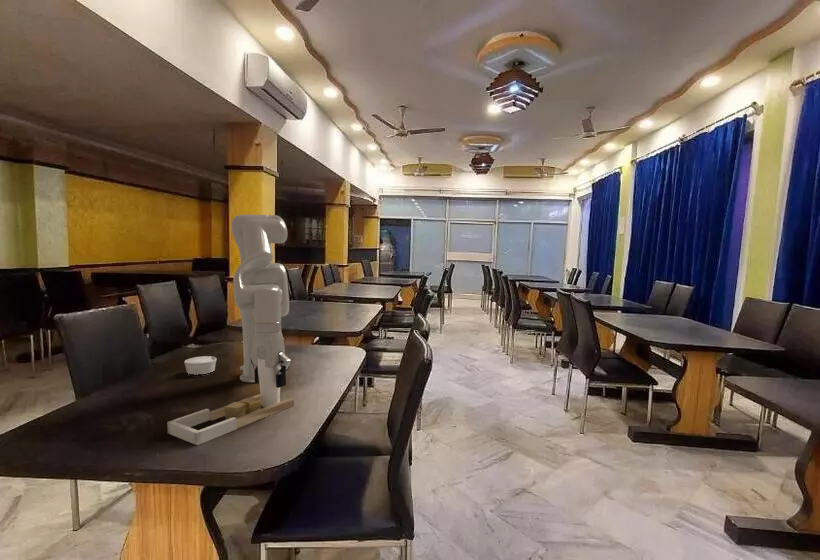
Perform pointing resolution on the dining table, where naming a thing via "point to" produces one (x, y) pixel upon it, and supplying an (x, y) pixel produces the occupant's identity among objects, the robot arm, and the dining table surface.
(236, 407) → the tan cube
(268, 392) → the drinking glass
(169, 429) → the u-shaped frame
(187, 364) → the ramekin
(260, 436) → the dining table surface
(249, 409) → the wooden cube
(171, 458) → the dining table surface
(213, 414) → the channel
